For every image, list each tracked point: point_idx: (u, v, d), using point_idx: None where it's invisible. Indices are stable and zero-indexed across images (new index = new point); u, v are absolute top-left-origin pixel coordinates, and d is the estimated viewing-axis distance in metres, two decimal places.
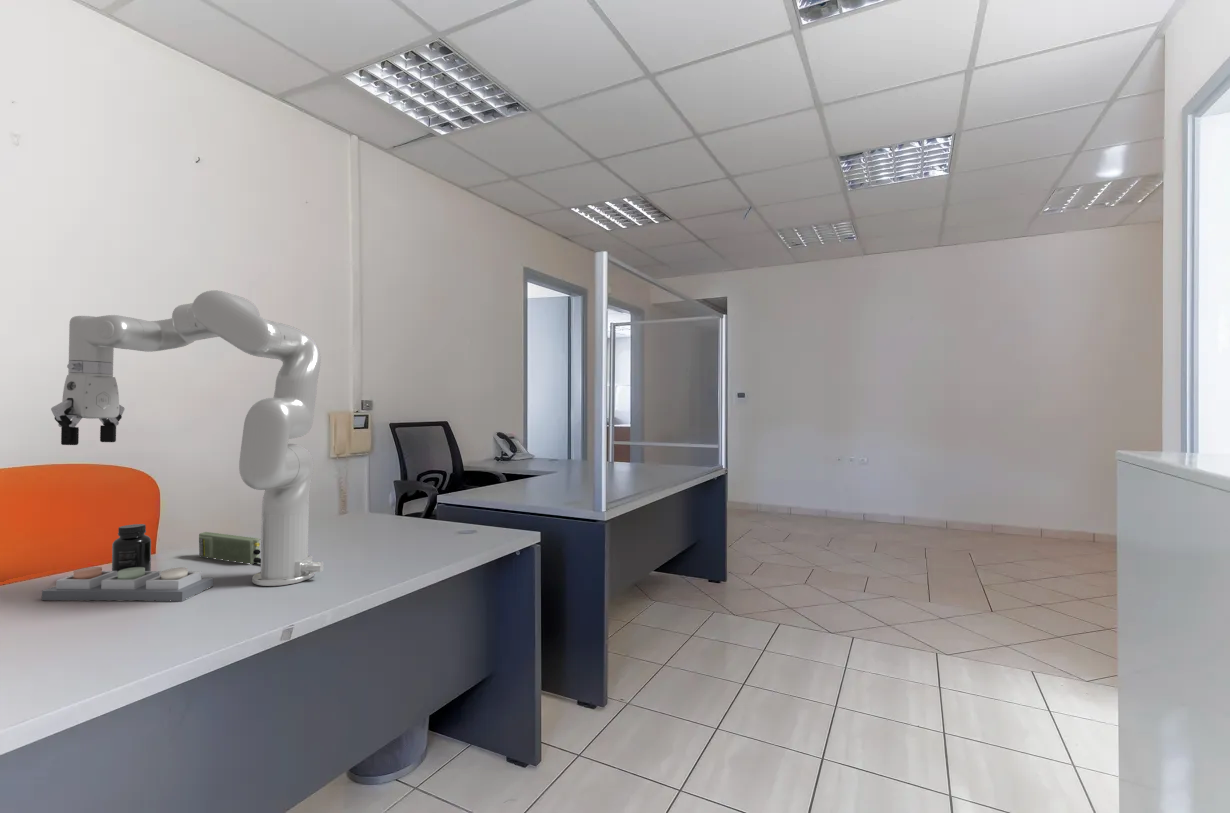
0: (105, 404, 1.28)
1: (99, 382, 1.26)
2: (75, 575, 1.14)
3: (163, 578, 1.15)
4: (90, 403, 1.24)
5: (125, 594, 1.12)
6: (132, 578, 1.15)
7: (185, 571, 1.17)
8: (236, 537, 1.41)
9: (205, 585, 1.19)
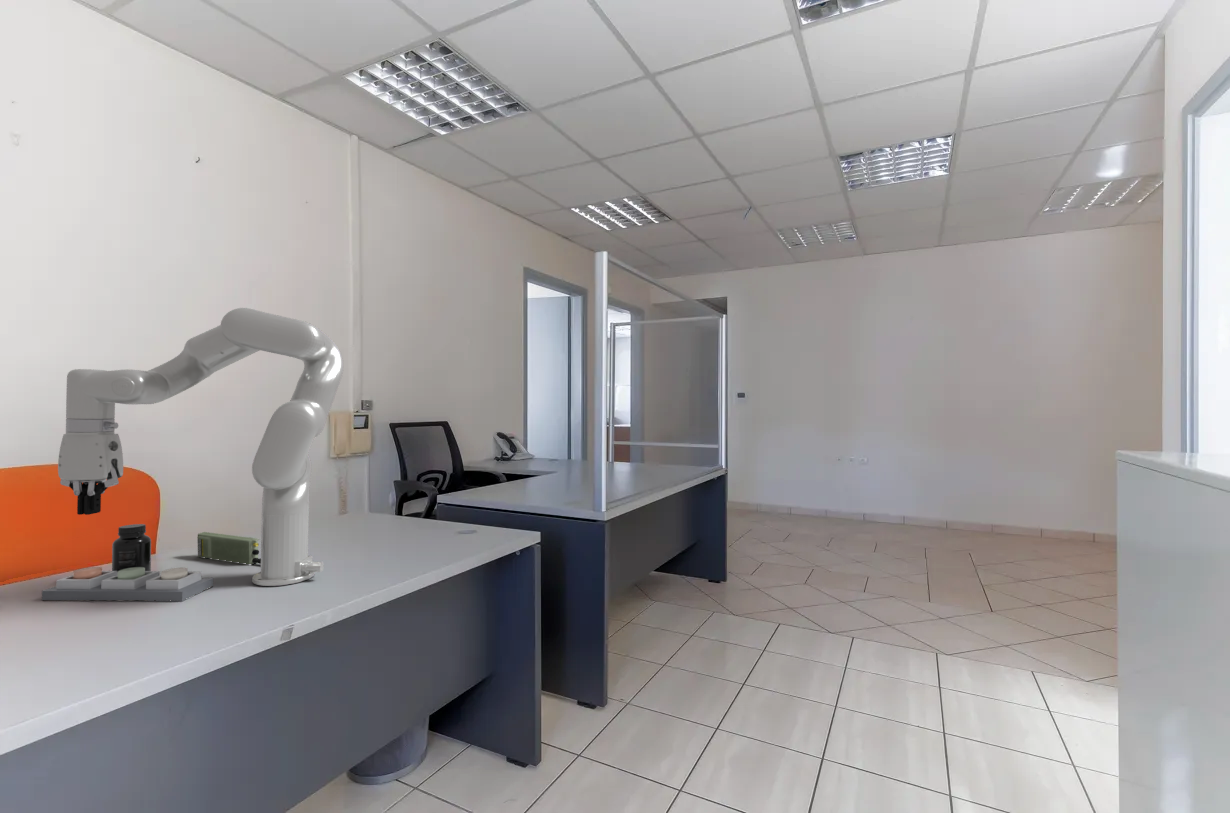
0: None
1: None
2: (75, 575, 1.14)
3: (163, 578, 1.15)
4: None
5: (125, 594, 1.12)
6: (132, 578, 1.15)
7: (185, 571, 1.17)
8: (235, 537, 1.41)
9: (205, 585, 1.19)
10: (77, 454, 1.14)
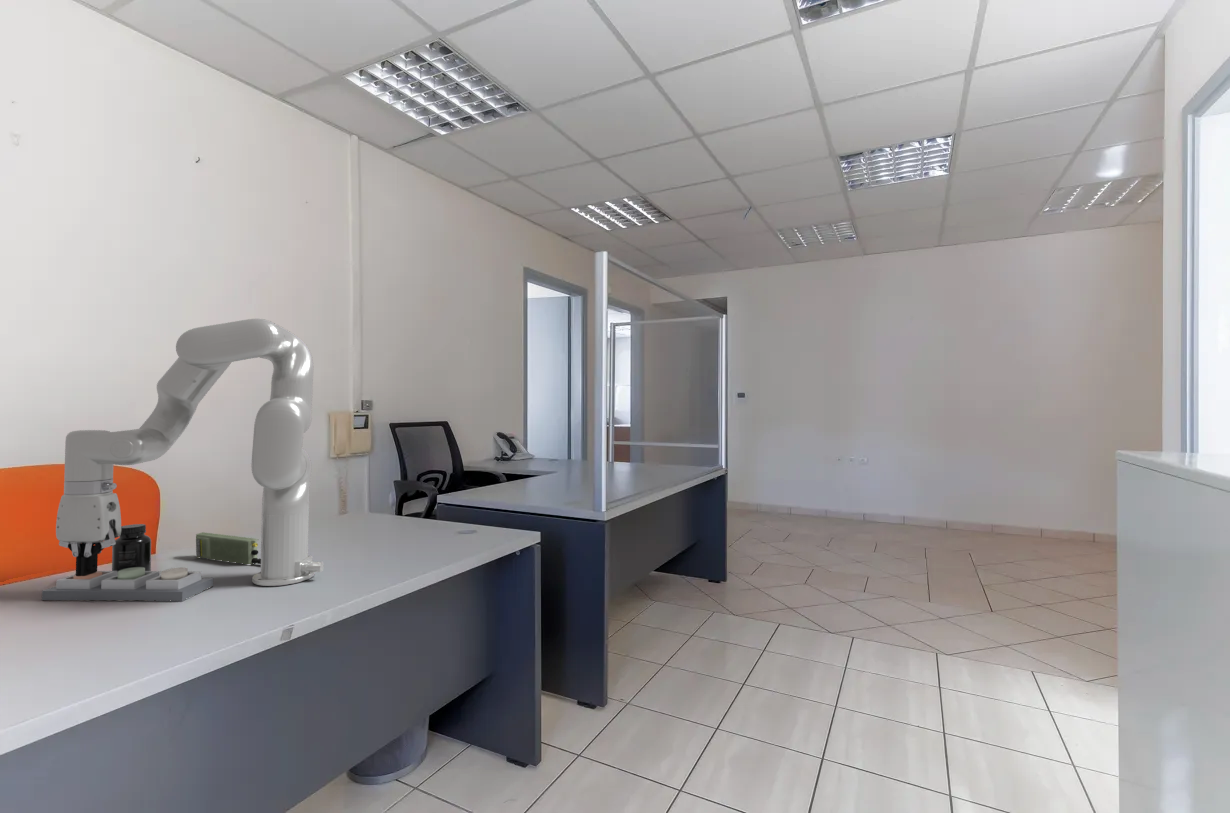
0: None
1: None
2: None
3: (163, 578, 1.15)
4: None
5: (125, 594, 1.12)
6: (132, 578, 1.15)
7: (185, 571, 1.17)
8: (234, 537, 1.40)
9: (205, 585, 1.19)
10: (75, 516, 1.14)
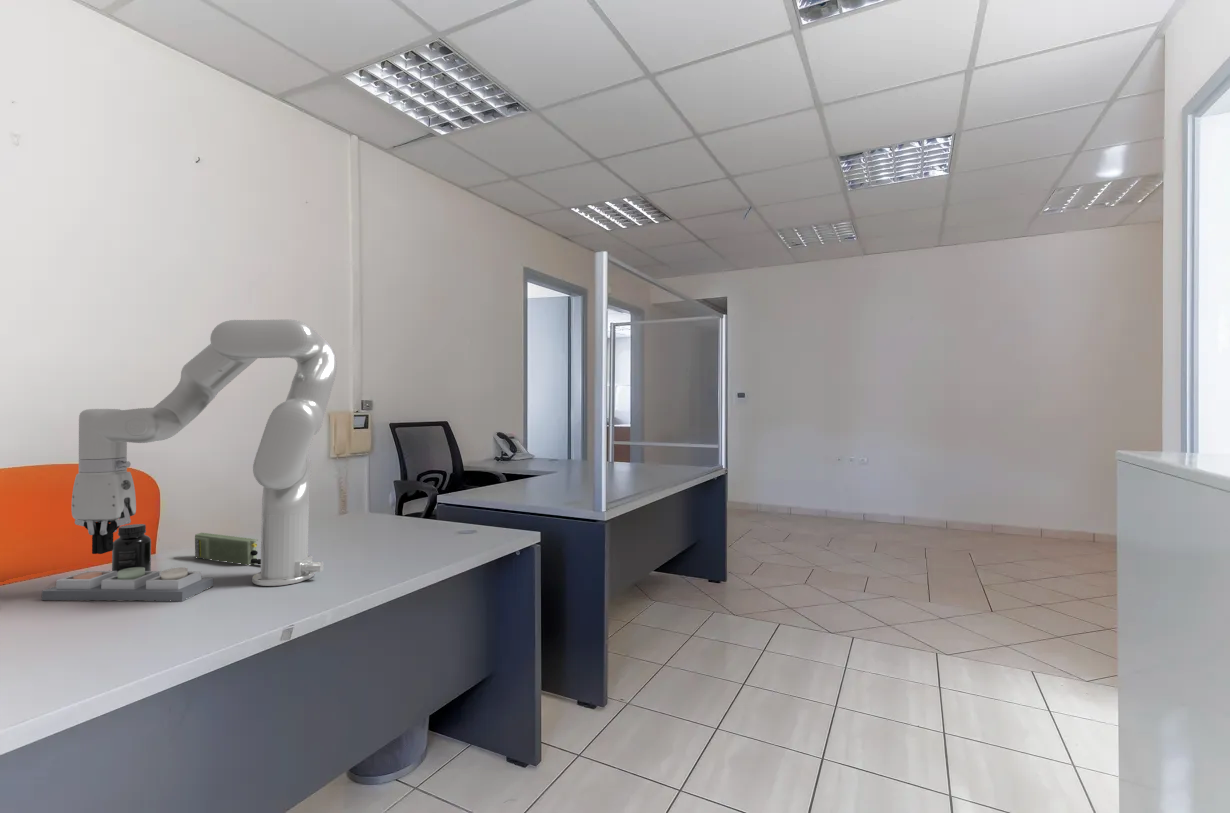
0: None
1: None
2: None
3: (163, 578, 1.15)
4: None
5: (125, 594, 1.12)
6: (132, 578, 1.15)
7: (185, 571, 1.17)
8: (233, 538, 1.40)
9: (205, 585, 1.19)
10: (90, 494, 1.14)
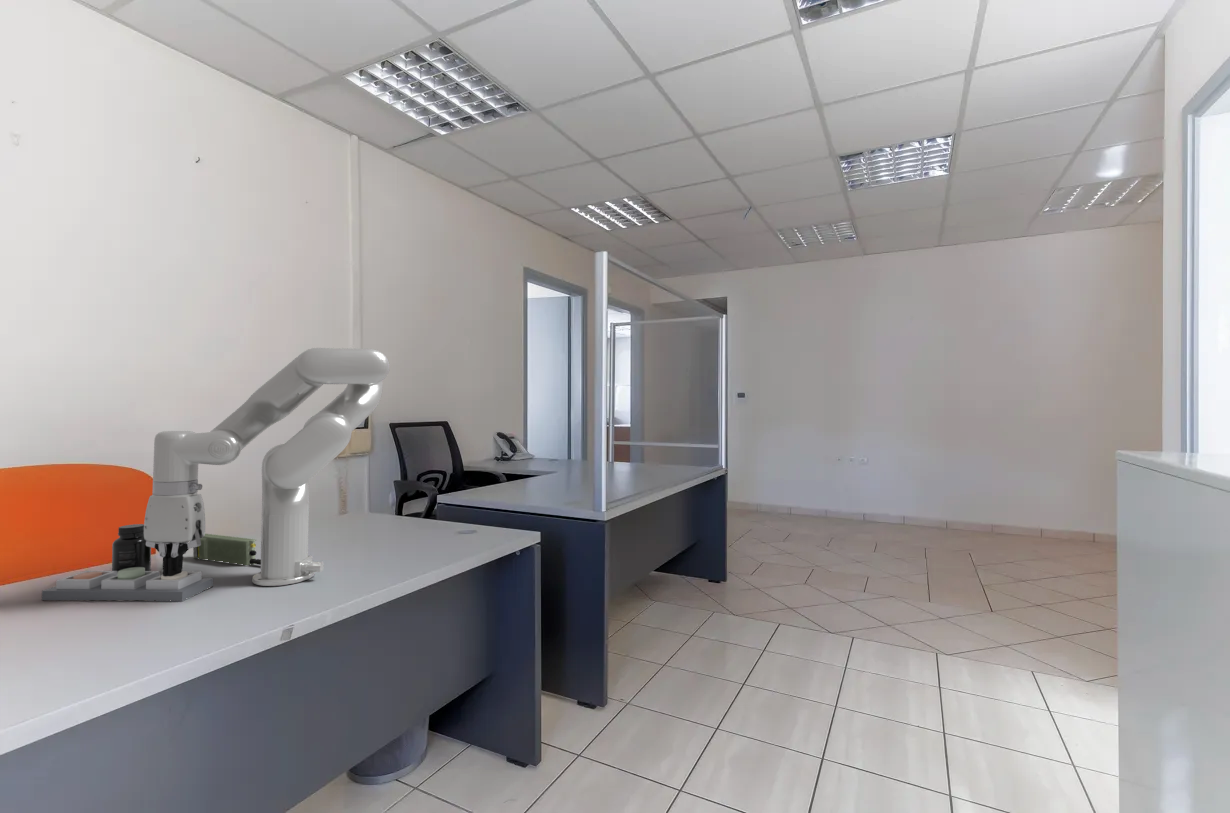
0: None
1: None
2: None
3: None
4: None
5: (125, 594, 1.12)
6: (132, 578, 1.15)
7: (185, 575, 1.17)
8: (231, 538, 1.40)
9: (205, 585, 1.19)
10: (163, 516, 1.14)
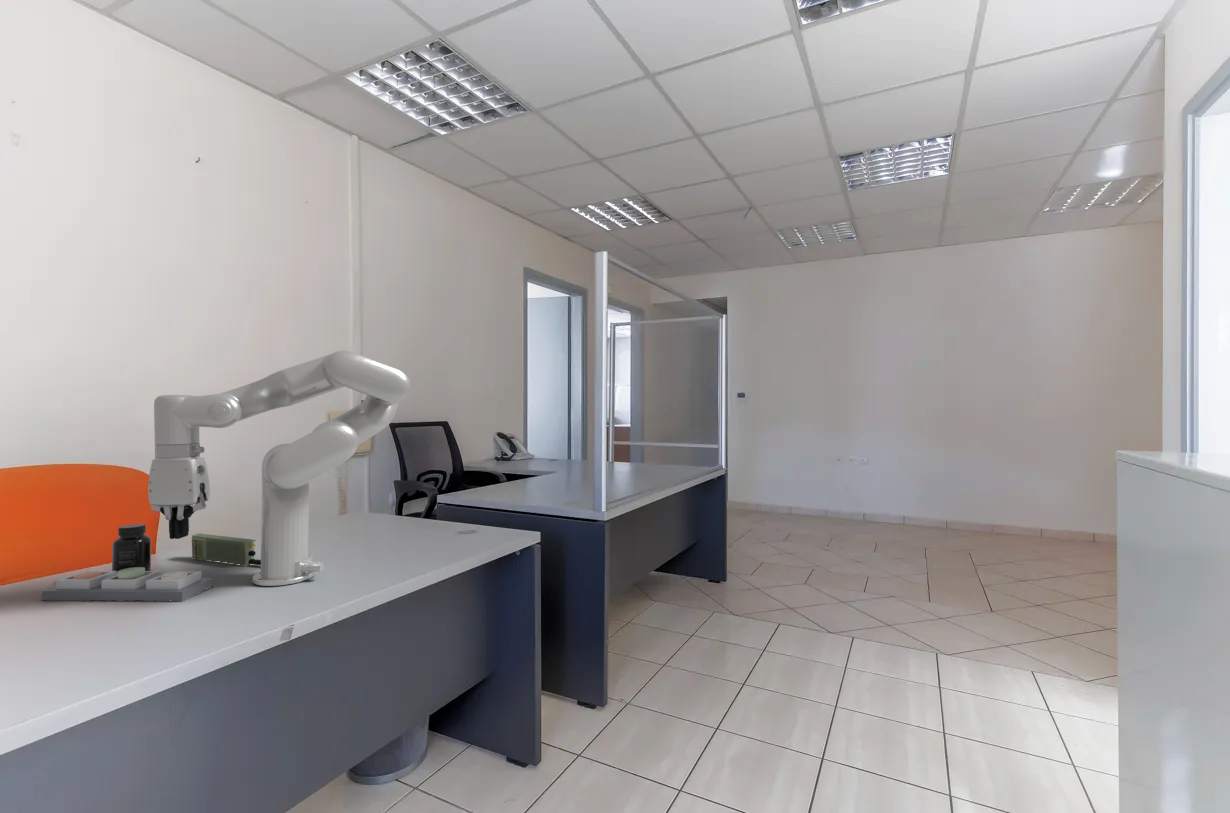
0: None
1: None
2: None
3: None
4: None
5: (125, 594, 1.12)
6: (132, 578, 1.15)
7: (185, 576, 1.17)
8: (230, 538, 1.40)
9: (205, 585, 1.19)
10: (167, 479, 1.14)
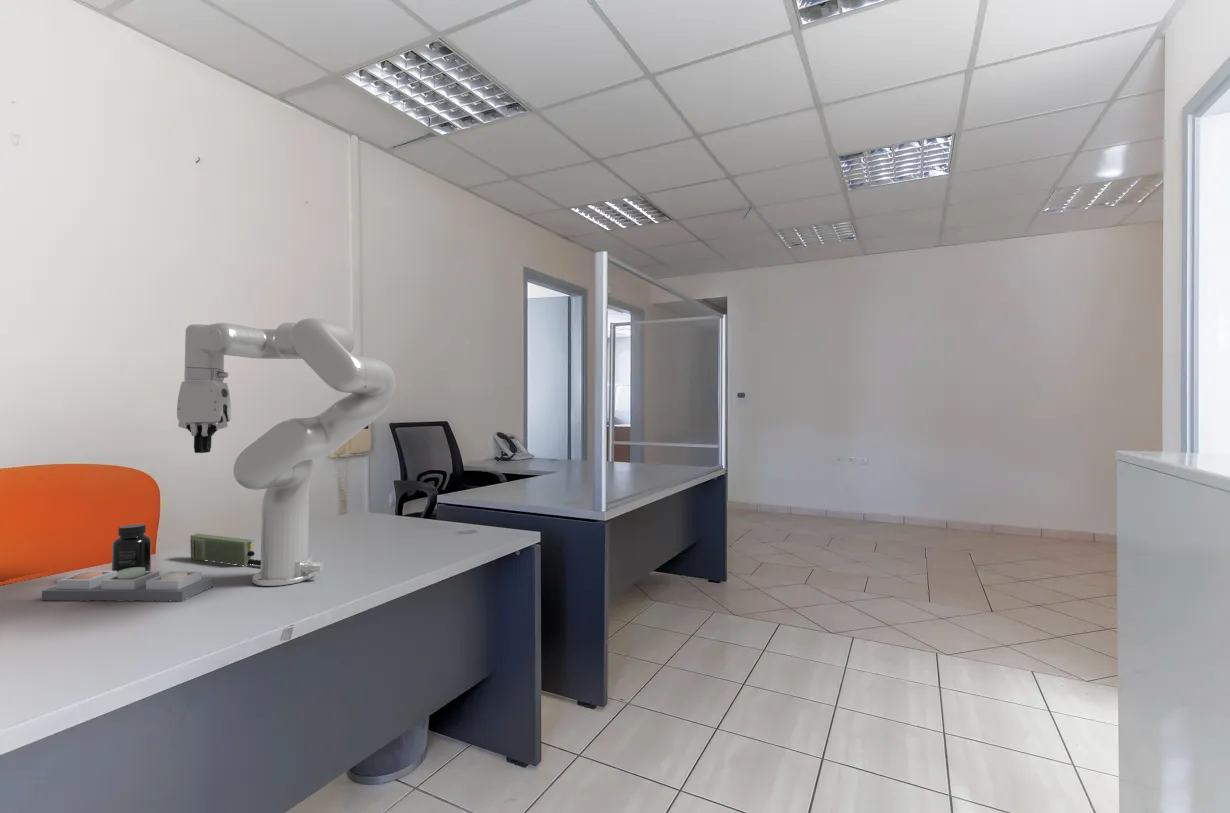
0: None
1: None
2: None
3: None
4: None
5: (125, 594, 1.12)
6: (132, 578, 1.15)
7: (185, 576, 1.17)
8: (229, 539, 1.39)
9: (205, 585, 1.19)
10: (194, 399, 1.29)
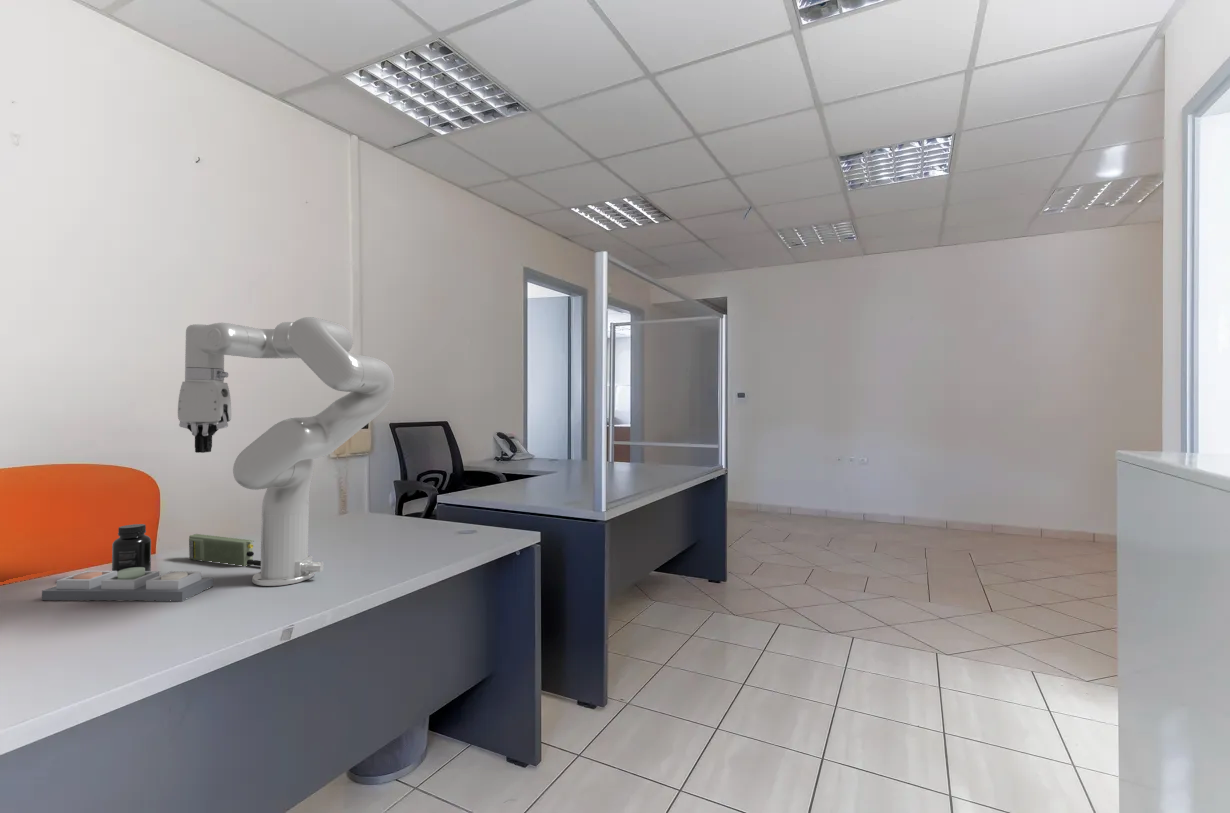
0: None
1: None
2: None
3: None
4: None
5: (125, 594, 1.12)
6: (132, 578, 1.15)
7: (185, 576, 1.17)
8: (228, 539, 1.39)
9: (205, 585, 1.19)
10: (195, 399, 1.29)
